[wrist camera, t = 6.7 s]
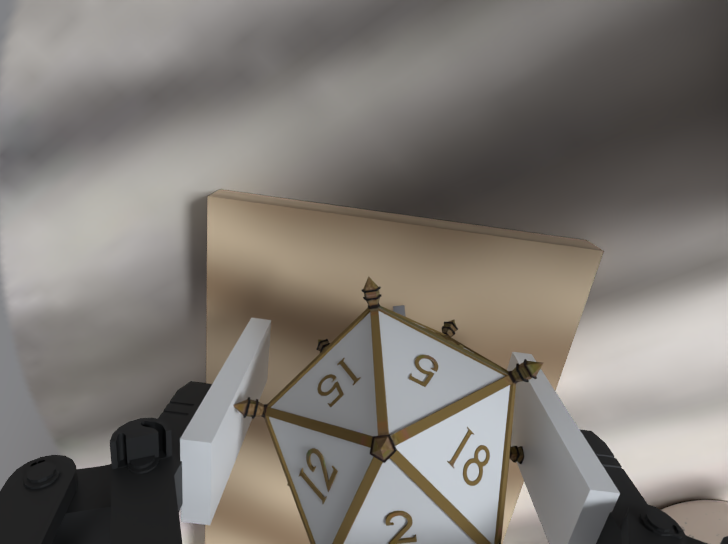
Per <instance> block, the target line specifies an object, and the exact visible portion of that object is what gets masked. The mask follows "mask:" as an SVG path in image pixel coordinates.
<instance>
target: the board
mask: <svg viewBox="0 0 728 544" xmlns="http://www.w3.org/2000/svg"><path fill="white" fill-rule="evenodd" d="M603 252H604V251H603V250H601V249H600V248H598V247H597V246H595V245H594V244H592V243H591V242H589V241H587V240H581V239H574V238H567V237H559V236H552V235H545V234H538V233H531V232H523V231H516V230H509V229H502V228H495V227H487V226H480V225H473V224H466V223H459V222H452V221H444V220H437V219H430V218H423V217H416V216H408V215H401V214H394V213H387V212H380V211H372V210H365V209H358V208H351V207H344V206H337V205H329V204H322V203H315V202H308V201H301V200H293V199H286V198H279V197H272V196H265V195H257V194H250V193H243V192H236V191H229V190H222V189H220V190H218V191H216V192H214V193H212V194H210V195H209V196H207V327H206V383H208V384H213V382H214V380H215V379H216V377H217V375H218V374H219V372H220V370H221V368H222V367H223V365H224V363H225V362H226V360H227V358H228V357H229V355H230V353H231V351H232V350H233V348H234V346H235V345H236V343H237V341H238V340H239V338H240V336H241V334H242V333H243V331H244V329H245V328H246V326H247V324H248V323H249V321H250V319H251V318H259V319H266V320H271V332H270V346H269V361H268V376H267V382H266V385H265V387H264V390H263V392H262V395H261V397H260V400H259V402H260V403H262V404H268V403H269V402H270V401H271V400H272V399H273V398H274V397H275V396H276V395H277V394H278V393H279V392H280V391H281V390H282V389H283V388H284V387H285V386H286V385H288V384H289V383H290V382H291V381H292V380H293V379H294V378H295V377H296V376H297V375H298V374H299V373H300V372H301V371H302V370H303V369H304V368H305V367H306V366H307V365H308V364H309V363H310V362H312V361H313V360H314V359H315V358H316V357H317V356H318V355H319V354H320V351H318V350H316V349H317V346H318V339H320V340H325V339H328V341H329V343H331V342H332V341H333V340H334V339H335V338H337V337H338V336H339V335H340V334H341V333H342V332H343V331H344V330H345V329H346V328H347V327H348V326H349V325H350V324H351V323H352V322H353V321H354V320H355V319H356V318H357V317H358V316H359V315H361V314H362V313H363V312H364V311H365V310H366V309H367V308H368V304H367V302H366V300H364V299H363V297H365V296H364V292H362V289H363V288H364V286H365V284H366V281H367V279H368V276H369V277H370V278H371V279H372V280H373V281H374V282H375V283H376V285H377V286H378V287H381V288H380V289H379V293H380V294H381V297H380V300H379V304H380V306H382V307H385V308H387V309H389V310H391V311H394V312H396V313H398V314H400V315H403V316H405V317H407V318H410V319H412V320H414V321H416V322H419V323H421V324H423V325H425V326H428V327H430V328H432V329H435V330H437V331H439V332H441V333H442V326H444V322H448V321H451V320H455V323H456V327H457V328H458V330H457V331H455V333H456V334H455V335H453V336H452V337H451V338H453V339H455V340H456V341H458V342H460V343H461V344H463V345H465V346H467V347H468V348H470V349H472V350H473V351H475V352H477V353H479V354H480V355H482V356H484V357H485V358H487V359H489V360H491V361H492V362H494V363H496V364H497V365H499V366H501V367H502V368H504V369H506V370H507V368H508V365H509V361H510V358H511V355H512V352H518V353H526V354H532V356H533V357H534V359H535V360H536V362H542V363H543V365H542V367H541V370H542V371H543V373H544V375H545V376H546V378H547V379H548V381H549V382H550V384H551V386H552V387H553V389H554V390H556V387H557V385H558V382H559V379H560V376H561V373H562V370H563V367H564V364H565V362H566V359H567V356H568V353H569V350H570V347H571V344H572V341H573V339H574V336H575V333H576V330H577V327H578V324H579V321H580V318H581V316H582V313H583V310H584V307H585V304H586V301H587V298H588V295H589V293H590V290H591V287H592V284H593V281H594V278H595V275H596V272H597V270H598V267H599V264H600V261H601V258H602V255H603ZM523 482H524V479H523V477H522V474H521V472H520V469H519V467H518V464H517V462H516V463H514V462H513V461H512V460H511V459H509V469H508V479H507V489H506V499H505V509H504V519H503V529H502V539H501V544H502V543H503V540H504V537H505V534H506V531H507V528H508V525H509V522H510V520H511V517H512V514H513V511H514V508H515V505H516V502H517V499H518V497H519V494H520V491H521V488H522V485H523ZM287 484H288V482H287V479H286V476H285V474H284V471H283V468H282V465H281V463H280V460H279V457H278V455H277V452H276V449H275V447H274V444H273V441H272V438H271V436H270V433H269V430H268V428H267V425H266V422H265V419H264V418H263V417H261V416H260V417H255V418H254V419H252V420H251V423H250V425H249V428H248V430H247V433H246V435H245V438H244V441H243V443H242V446H241V448H240V451H239V453H238V456H237V458H236V461H235V463H234V466H233V468H232V471H231V474H230V476H229V479H228V481H227V484H226V486H225V489H224V491H223V494H222V496H221V499H220V501H219V504H218V507H217V509H216V512H215V514H214V517H213V519H212V522H211V524H210V525H205V544H310V541H309V538H308V536H307V533H306V530H305V528H304V525H303V522H302V520H301V517H300V514H299V511H298V509H297V506H296V503H295V501H294V498H293V495H292V492H291V490H290V487H289V486H288V485H287Z"/></svg>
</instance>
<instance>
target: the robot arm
mask: <svg viewBox="0 0 728 544" xmlns="http://www.w3.org/2000/svg"><path fill="white" fill-rule="evenodd" d="M270 332H271V320H266V319H259V318H251V319H250V321H249V323H248V324H247V326H246V328H245V329H244V331H243V333H242V334H241V336H240V338H239V340H238V341H237V343H236V345H235V346H234V348H233V350H232V351H231V353H230V355H229V357H228V358H227V360H226V362H225V363H224V365H223V367H222V368H221V370H220V372H219V374H218V375H217V377H216V379H215V380H214V382H213V384H208V383H200V382H192V381H191V382H189V383H188V384H186V385H185V386H183V387H182V388H180V389H179V390H178V391H177V392H176V394H175V395H174V397H173V398H172V399H171V401H170V404H168V405H167V407H166V408H165V409H164V412H163V413H162V414H161V415H160V417H159V418H158V419H156V418H140V419H137V420H134V421H130V422H128V423H126V424H124V425H123V426H121V427H119V428H118V429H117V430H116V431H115V432H114V433H113V435H112V437H111V440H110V450H111V462H112V464H110V465H105V466H100V467H93V468H85V469H77V470H76V465H75V463H74V462H73V460H72V459H70V458H68V457H66V456H61V455H51V456H45V457H40V458H38V459H35V460H32V461H30V462H28V463H26V464H24V465H23V466H22V467H20V468H18V469H17V470H16V471H15V472H14V473H13V474H12V475H11V476H10V477H9V479H8V480H7V481H6V483H5V485H4V486H3V488H2V489H1V491H0V544H182V537H181V529H180V521H179V510H180V508H181V522H187V523H195V524H203V525H210V524H211V522H212V519H213V517H214V514H215V512H216V509H217V507H218V504H219V501H220V499H221V496H222V494H223V491H224V489H225V486H226V484H227V481H228V479H229V476H230V474H231V471H232V468H233V466H234V463H235V461H236V458H237V456H238V453H239V451H240V448H241V446H242V443H243V441H244V438H245V435H246V433H247V430H248V428H249V425H250V423H251V420H252V417H248V416H246V417H245V418H243V415H242V414H241V413H240V412H239V411H238V410H237V409H236V408H235V407H234V406H233V405H234V404H237V403H239V402H242V401H244V400H247V399H248V397H250V399H251V400H255V401H256V399H258V402H259V400H260V397H261V395H262V392H263V390H264V387H265V385H266V382H267V376H268V361H269V346H270ZM524 359H526V360H527V361H534V362H536V360H535V359H534V357H533V356H532V354H526V353H518V352H512V355H511V358H510V361H509V365H508V368H507V370H508V371H512V370H513V369H514V368H515V367H516V364H517V363H519V364H521V363H523V362H524ZM536 377H537V379H534V378H532V379H529V382H524V381H521V382H518V383H516V392H515V403H514V414H513V426H512V437H511V447H512V446H517V447H520V446H522V447H523V451H524V460H523V462H522V464H519V463H518V462H517V464H518V467H519V469H520V472H521V474H522V477H523V479H524V482H525V484H526V487H527V489H528V492H529V494H530V497H531V499H532V502H533V504H534V507H535V509H536V512H537V514H538V517H539V519H540V522H541V524H542V527H543V529H544V532H545V534H546V537H547V539H548V542H549V544H708V543H705V542H702V541H700V540H697V539H694V538H692V537H689V536H687V535H685V533H684V531H683V529H682V528H681V527H680V526H679V524H678V523H677V522H676V521H675V520H674V519H673V518H671V517H670V516H669V515H668V514H666V513H665V512H663V511H661V510H660V509H658V508H656V507H654V506H651V505H648V504H647V503H646V501H645V500H644V498H643V497H642V496H641V494H640V493H639V491H638V490H637V488H636V487H635V485H634V484H633V482H632V481H631V480H630V478H629V477H628V475H627V474H626V472H625V471H624V469H622V468H621V465H620V464H619V462H618V461H617V459H616V458H614V455H613V453H612V452H611V451H610V449H609V448H608V446H607V445H606V443H605V442H604V441H602V440H601V439H600V438H599V437H598V436H597V435H595V434H594V433H593V432H592V431H587V430H580V429H579V428H578V426H577V425H576V423H575V422H574V420H573V418H572V417H571V415H570V414H569V412H568V411H567V409H566V407H565V406H564V404H563V403H562V401H561V400H560V398H559V396H558V395H557V393H556V392H555V390H554V389H553V387H552V386H551V384H550V382H549V381H548V379H547V378H546V376H545V375H544V373H543V371H542V370H541V369H540V370H539V372H538V374H537V376H536ZM720 544H728V536H726V537H723V539H722V541H721V543H720Z"/></svg>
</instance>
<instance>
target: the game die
mask: <svg viewBox="0 0 728 544" xmlns="http://www.w3.org/2000/svg"><path fill="white" fill-rule="evenodd" d="M380 288H381V287H378V286H377V285H376V283H375V282H374V281H373V280H372V279H371V278H370V277H369V276H368V279H367V281H366V284H365V286H364V288H363V289H362V292H364V296H365V297H363V299H364V300H366V302H367V304H368V308H367V309H366V310H365V311H364V312H363V313H362V314H361V315H359V316H358V317H357V318H356V319H355V320H354V321H353V322H352V323H351V324H350V325H349V326H348V327H347V328H346V329H345V330H344V331H343V332H342V333H341V334H340V335H339V336H338V337H337V338H335V339H334V340H333V341H332V342H331V343H329V341H328V339H325V340H320V339H318V346H317V349H316V350H318V351H320V354H319V355H318V356H317V357H316V358H315V359H314V360H313V361H312V362H310V363H309V364H308V365H307V366H306V367H305V368H304V369H303V370H302V371H301V372H300V373H299V374H298V375H297V376H296V377H295V378H294V379H293V380H292V381H291V382H290V383H289V384H288V385H286V386H285V387H284V388H283V389H282V390H281V391H280V392H279V393H278V394H277V395H276V396H275V397H274V398H273V399H272V400H271V401H270V402H269V403H268V404H262V403H260V402H258V399H256V401H255V400H251V399H250V397H248V399H247V400H244V401H242V402H239V403H237V404H234V405H233V406H234V407H235V408H236V409H237V410H238V411H239V412H240V413H241V414H242V415H243V418H245V417H246V416H248V417H252V419H254V418H255V417H260V416H261V417H263V418H264V419H265V422H266V425H267V428H268V430H269V433H270V436H271V438H272V441H273V444H274V447H275V449H276V452H277V455H278V457H279V460H280V463H281V465H282V468H283V471H284V474H285V476H286V479H287V482H288V484H287V485H288V486H289V487H290V490H291V492H292V495H293V498H294V501H295V503H296V506H297V509H298V511H299V514H300V517H301V520H302V522H303V525H304V528H305V530H306V533H307V536H308V538H309V541H310V544H501V539H502V529H503V519H504V509H505V499H506V489H507V479H508V469H509V459H511V460H512V461H513V462H514V463H516V462H518V463H519V464H522V462H523V460H524V451H523V447H522V446H520V447H517V446H512V447H511V437H512V426H513V414H514V403H515V392H516V383H518V382H521V381H524V382H529V379H532V378H534V379H537V377H536V376H537V374H538V372H539V370H540V369H541V367H542V365H543V363H542V362H534V361H527V360H526V359H524V362H523V363H521V364H519V363H517V364H516V367H515V368H514V369H513V370H512V371H508V370H506V369H504V368H502V367H501V366H499V365H497V364H496V363H494V362H492V361H491V360H489V359H487V358H485V357H484V356H482V355H480V354H479V353H477V352H475V351H473V350H472V349H470V348H468V347H467V346H465V345H463V344H461V343H460V342H458V341H456V340H455V339H453V338H451V337H452V336H453V335H455V334H456V333H455V331H457V330H458V328H457V327H456V323H455V320H451V321H448V322H444V326H442V333H441V332H439V331H437V330H435V329H432V328H430V327H428V326H425V325H423V324H421V323H419V322H416V321H414V320H412V319H410V318H407V317H405V316H403V315H400V314H398V313H396V312H394V311H391V310H389V309H387V308H385V307H382V306H380V304H379V300H380V297H381V294H380V293H379V289H380Z"/></svg>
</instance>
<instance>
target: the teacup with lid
mask: <svg viewBox="0 0 728 544" xmlns="http://www.w3.org/2000/svg"><path fill="white" fill-rule="evenodd" d="M661 511H663V512H665V513H666V514H668V515H669V516H670V517H671V518H673V519H674V520H675V521H676V522H677V523H678V524H679V526H680V527H681V528H682V529H683V531H684V533H685V535H687V536H689V537H692V538H694V539H697V540H700V541H702V542H705V543H708V544H720V543H721V541H722V539H723V537H726V536H728V502H725V501H718V500H697V501H689V502H684V503H679V504H676V505H672V506H669V507H666V508H664V509H661Z"/></svg>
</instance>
